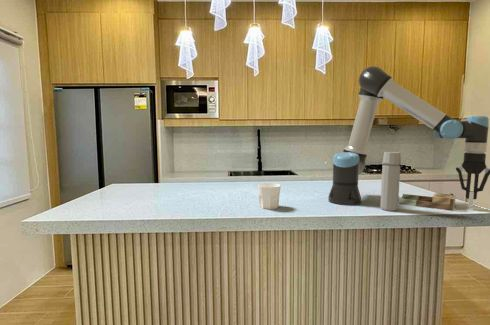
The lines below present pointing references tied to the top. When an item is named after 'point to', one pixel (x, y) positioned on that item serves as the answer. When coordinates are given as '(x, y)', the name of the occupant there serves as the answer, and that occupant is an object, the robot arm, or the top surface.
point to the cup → (269, 195)
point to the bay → (424, 202)
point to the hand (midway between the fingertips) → (470, 206)
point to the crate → (443, 198)
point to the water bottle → (390, 181)
